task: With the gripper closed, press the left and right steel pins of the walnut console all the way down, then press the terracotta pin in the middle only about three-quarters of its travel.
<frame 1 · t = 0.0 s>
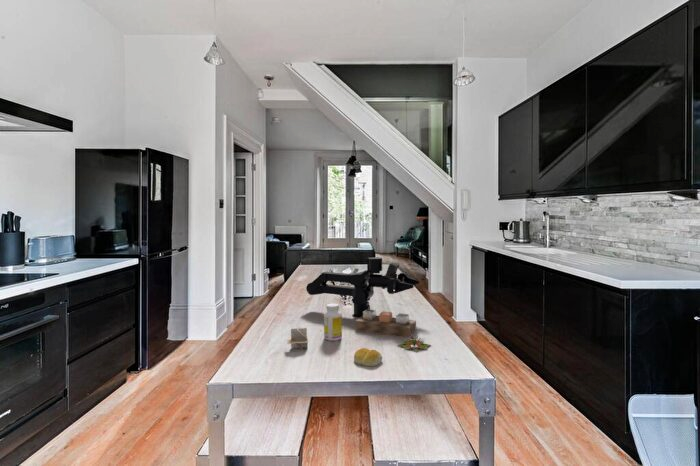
hand: (416, 284, 164), 17 cm above the table, tool horizontal, fingers open, 9 cm apart
pin console: (385, 330, 156), on the table
terracotta pin: (385, 317, 155), point 5 cm above the table, slide at 0.0 cm
supplement bottle: (332, 338, 147), on the table
architectural model: (299, 350, 136), on the table
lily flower: (414, 347, 138), on the table
bread roll: (368, 362, 125), on the table
left steel pin: (369, 315, 158), point 5 cm above the table, slide at 0.0 cm
right steel pin: (402, 319, 152), point 5 cm above the table, slide at 0.0 cm
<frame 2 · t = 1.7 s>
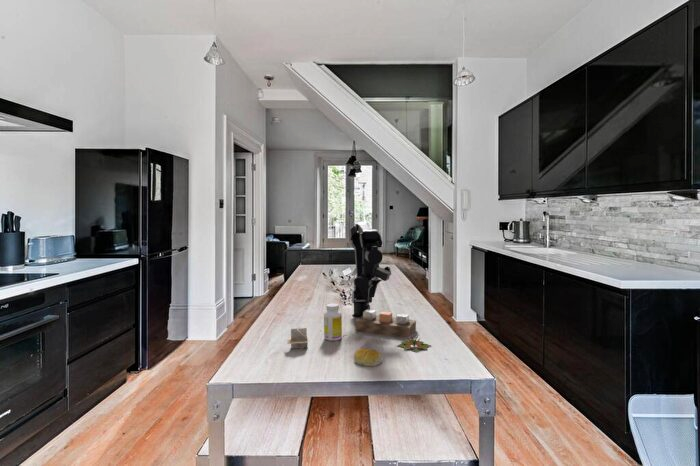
hand: (369, 298, 158), 12 cm above the table, tool pointing down, fingers open, 6 cm apart
nothing on the table moved.
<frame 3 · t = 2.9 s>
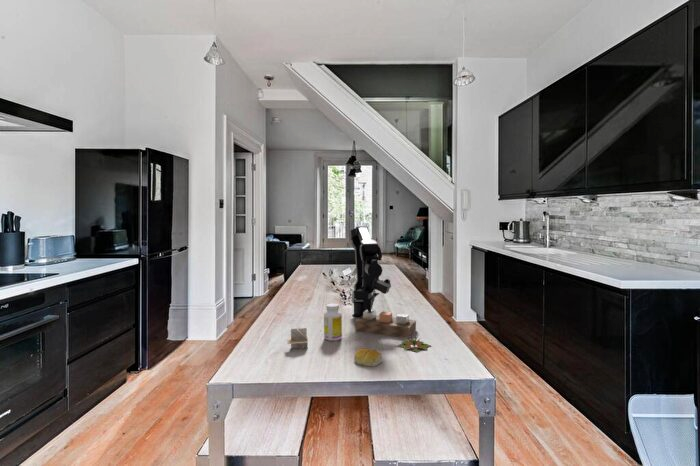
hand: (369, 311, 158), 7 cm above the table, tool pointing down, fingers closed, pressing on left steel pin
left steel pin: (369, 315, 158), point 5 cm above the table, slide at 0.1 cm, touching gripper
everything else where it was.
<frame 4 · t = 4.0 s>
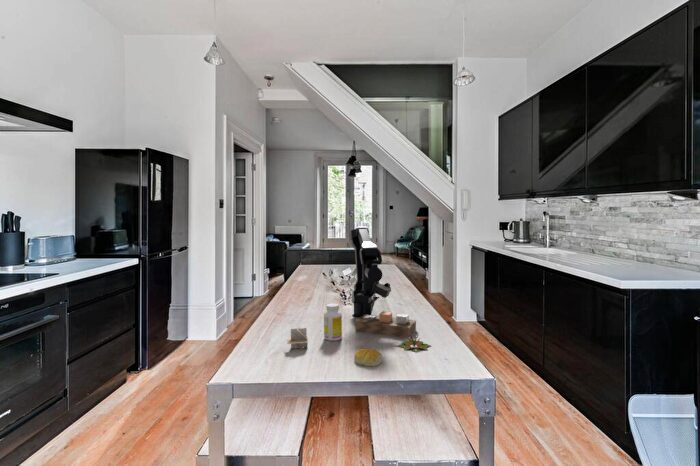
hand: (369, 315, 158), 5 cm above the table, tool pointing down, fingers closed
left steel pin: (369, 321, 158), point 3 cm above the table, slide at 2.3 cm
everything else where it was.
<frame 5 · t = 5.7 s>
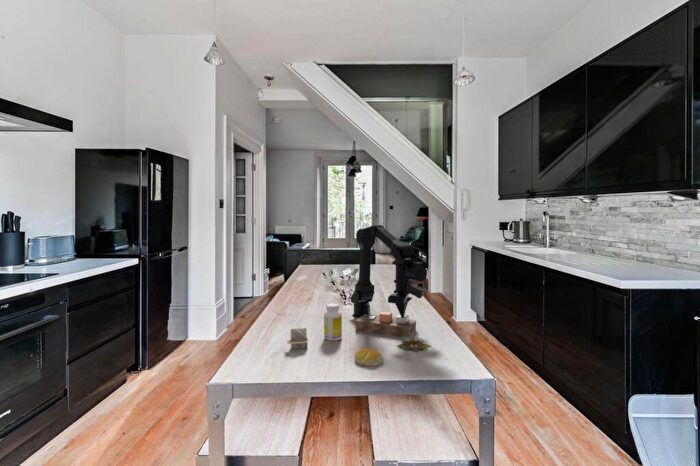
hand: (402, 316, 152), 7 cm above the table, tool pointing down, fingers closed, pressing on right steel pin
right steel pin: (402, 321, 152), point 5 cm above the table, slide at 0.4 cm, touching gripper
everything else where it was.
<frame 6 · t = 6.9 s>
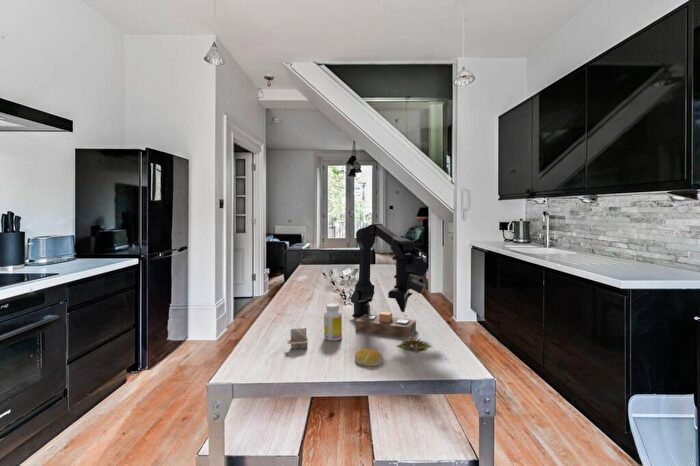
hand: (403, 311, 152), 8 cm above the table, tool pointing down, fingers closed
right steel pin: (402, 325, 152), point 3 cm above the table, slide at 2.3 cm
everything else where it was.
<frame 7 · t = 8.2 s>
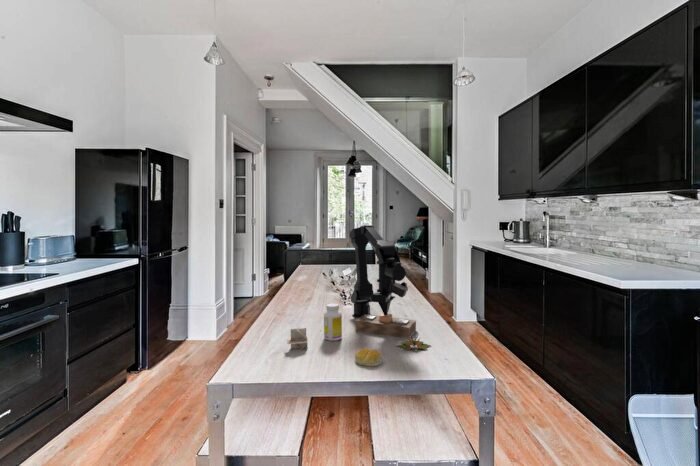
hand: (385, 314, 155), 6 cm above the table, tool pointing down, fingers closed, pressing on terracotta pin
terracotta pin: (385, 319, 155), point 4 cm above the table, slide at 0.8 cm, touching gripper
everything else where it was.
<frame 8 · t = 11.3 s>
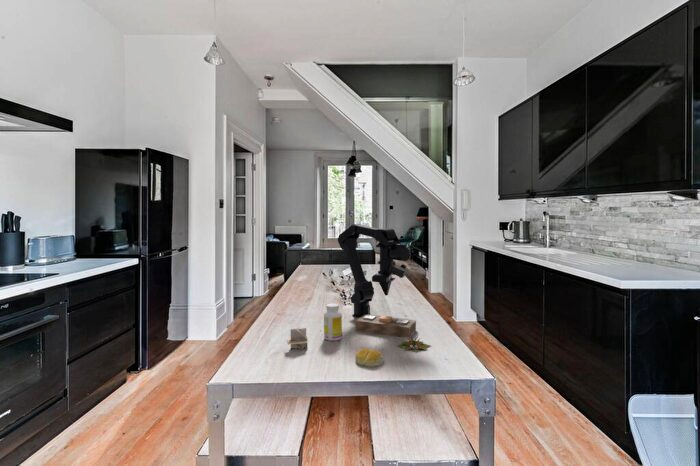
hand: (386, 295, 164), 12 cm above the table, tool pointing down, fingers closed
terracotta pin: (385, 322, 155), point 3 cm above the table, slide at 1.7 cm
everything else where it was.
at the end: left steel pin slide at 2.3 cm; right steel pin slide at 2.3 cm; terracotta pin slide at 1.7 cm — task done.
